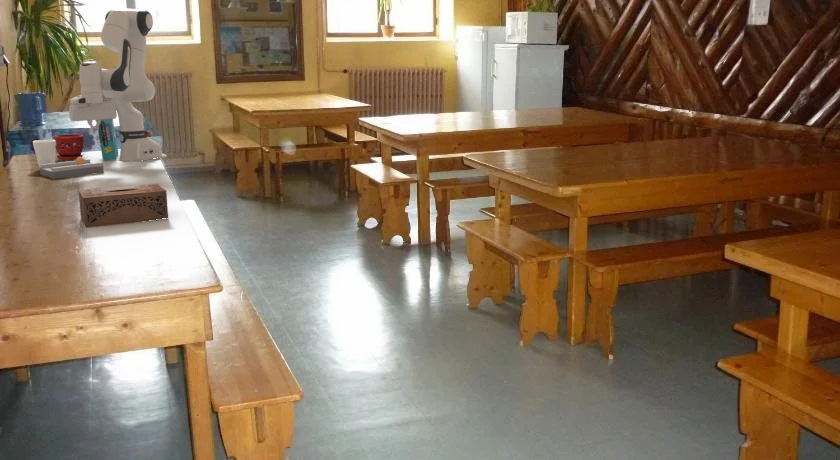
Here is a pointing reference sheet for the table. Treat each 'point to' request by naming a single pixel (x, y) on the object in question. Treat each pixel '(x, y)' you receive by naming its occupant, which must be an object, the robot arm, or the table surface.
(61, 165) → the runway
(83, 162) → the ball
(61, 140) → the plant pot
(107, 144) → the game box
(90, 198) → the tissue box cover
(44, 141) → the foam cup
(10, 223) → the table surface
